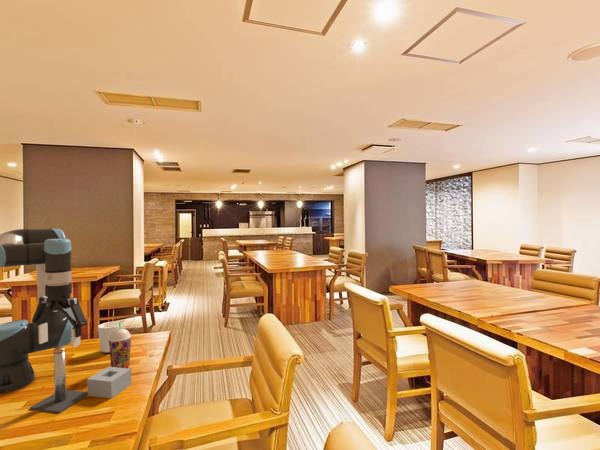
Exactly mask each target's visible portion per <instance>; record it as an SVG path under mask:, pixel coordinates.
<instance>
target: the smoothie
mask: <svg viewBox="0 0 600 450" xmlns="http://www.w3.org/2000/svg"><path fill="white" fill-rule="evenodd" d="M118 322H119V329H117V330H115V331H114V332H113V333H112V334H111V336H110V338H109V347H110V353H109V355H110V356H109V358H110V367H117V368H127V369H129V367H130V363H131V347H132V346H131V345H132V334H131V333H130V332H129V330H128V329H126V328H124V327H123V328H122V324H121V323H122V322H121V321H118Z"/></svg>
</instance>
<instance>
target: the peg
mask: <svg viewBox="0 0 600 450" xmlns="http://www.w3.org/2000/svg"><path fill="white" fill-rule="evenodd" d="M53 373H54V374H53V375H54V376H53V378H54V379H53V385H54V390H53V391H54V393H55V402H62V401H64V400H65V399H66V390H67V385H66V384H67V380H66V378H67V377H66V374H67V373H66V347H65V346H61V347H58V348H53Z"/></svg>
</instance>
